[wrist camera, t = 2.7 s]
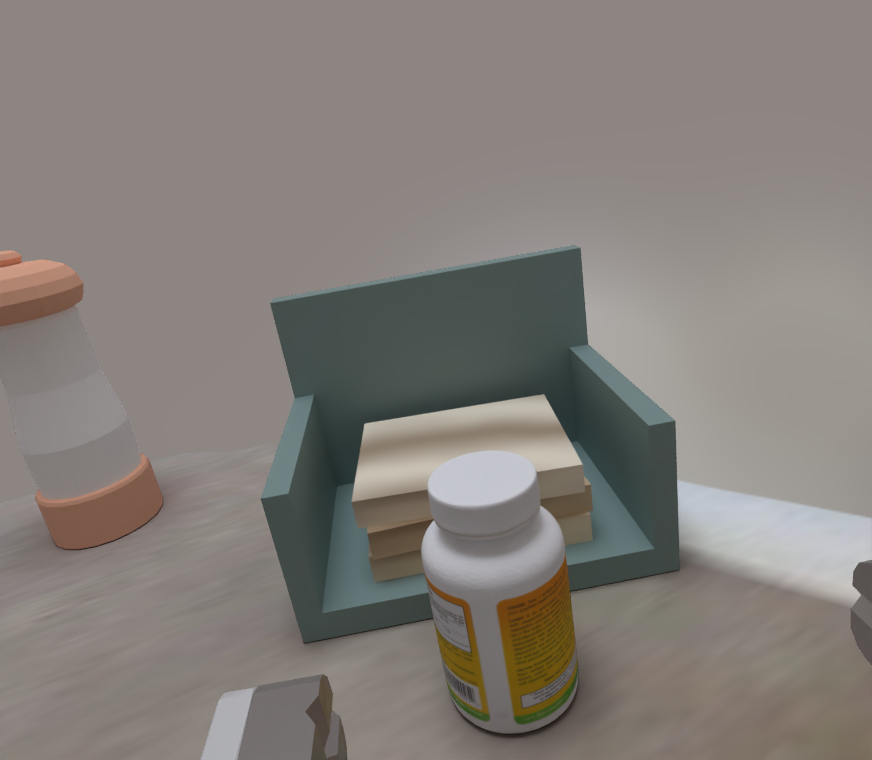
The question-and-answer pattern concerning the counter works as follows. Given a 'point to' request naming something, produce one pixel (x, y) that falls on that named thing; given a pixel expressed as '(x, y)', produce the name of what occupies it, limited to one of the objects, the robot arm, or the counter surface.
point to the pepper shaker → (68, 410)
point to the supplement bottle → (499, 593)
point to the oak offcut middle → (412, 532)
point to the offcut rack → (444, 390)
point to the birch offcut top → (457, 454)
